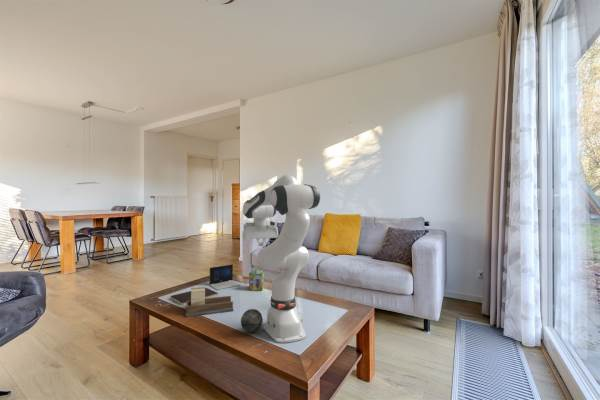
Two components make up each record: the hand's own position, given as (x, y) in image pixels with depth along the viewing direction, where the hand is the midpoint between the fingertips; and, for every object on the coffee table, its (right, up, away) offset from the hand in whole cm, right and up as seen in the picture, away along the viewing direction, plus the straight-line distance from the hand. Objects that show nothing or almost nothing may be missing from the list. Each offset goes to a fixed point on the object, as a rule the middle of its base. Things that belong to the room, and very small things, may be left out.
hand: (260, 245), depth 160 cm
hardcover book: (-43, -34, +9) cm, 55 cm away
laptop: (-30, -34, +33) cm, 57 cm away
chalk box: (-7, -34, +27) cm, 45 cm away
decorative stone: (+1, -34, -34) cm, 48 cm away
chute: (-27, -34, -8) cm, 44 cm away
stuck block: (-33, -32, -11) cm, 47 cm away
